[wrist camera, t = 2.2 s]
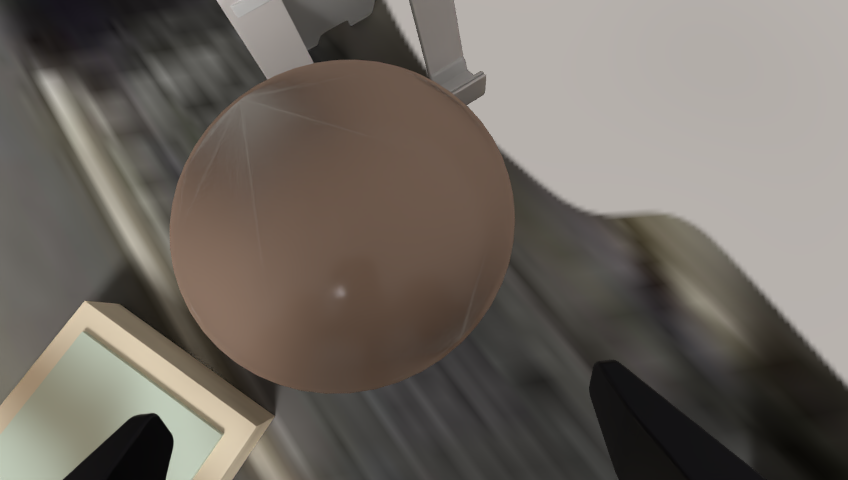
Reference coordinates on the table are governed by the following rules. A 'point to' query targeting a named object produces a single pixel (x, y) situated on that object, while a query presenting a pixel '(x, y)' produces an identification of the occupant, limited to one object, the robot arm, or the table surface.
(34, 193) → the table surface
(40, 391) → the square tray
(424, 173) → the tumbler
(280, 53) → the portable electronic device stand
